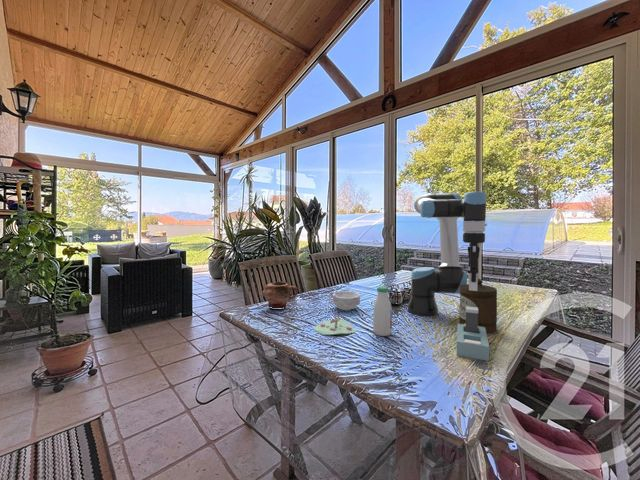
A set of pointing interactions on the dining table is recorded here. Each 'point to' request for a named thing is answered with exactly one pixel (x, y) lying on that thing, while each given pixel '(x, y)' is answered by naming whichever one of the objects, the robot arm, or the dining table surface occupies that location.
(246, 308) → the dining table surface
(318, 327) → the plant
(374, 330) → the milk bottle
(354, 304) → the paper bowls
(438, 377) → the dining table surface
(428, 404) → the dining table surface
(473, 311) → the plug
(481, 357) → the socket block
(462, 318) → the wooden container
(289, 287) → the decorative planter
